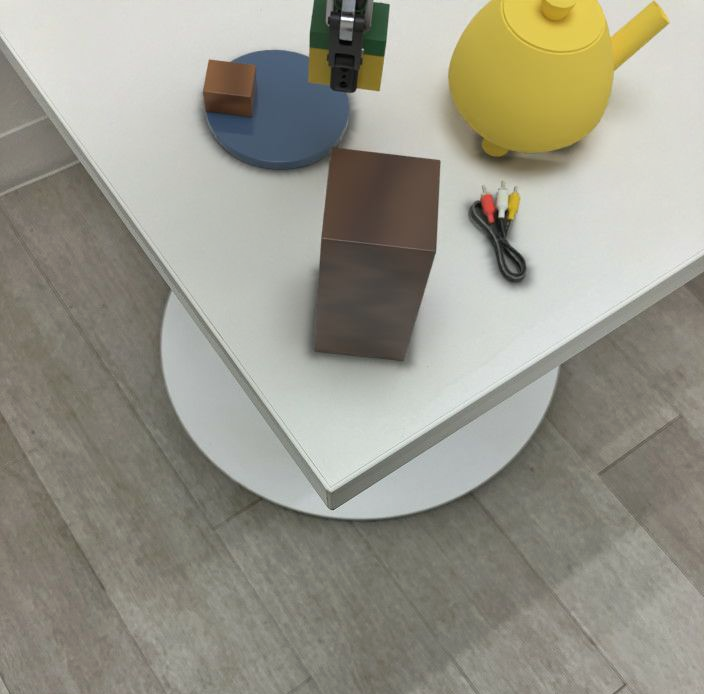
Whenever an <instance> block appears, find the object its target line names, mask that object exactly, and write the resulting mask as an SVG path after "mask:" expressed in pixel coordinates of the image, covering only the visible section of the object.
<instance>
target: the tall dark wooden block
mask: <svg viewBox="0 0 704 694" xmlns="http://www.w3.org/2000/svg"><path fill="white" fill-rule="evenodd" d="M329 155H330V156H329V163H328V170H327V171H328V172H327V180H326V191H325V199H324V210H323V217H322V226H321V236H320V248H319V265H318V266H319V267H318V282H317V295H316V311H315V327H314V339H313V340H314V341H313V342H314V343H313V351H314V352H319V353H329V354H337V355H338V354H339V355H347V356H355V357H357V356H358V357H366V358H374V359H375V358H376V359H385V360H395V361H406V356H407V353H408V349H409V346H410V343H411V339H412V335H413V333H414V332H413V331H414V329H415V326H416V322H417V319H418V316H419V312H420V308H421V305H422V301H423V298H424V294H425V291H426V288H427V285H428V282H429V278H430V275H431V271H432V267H433V264H434V261H435V257H436V254H437V247H438V245H437V244H438V224H439V223H438V222H439V205H440V203H439V202H440V186H441V185H440V184H441V164H442V163H441V162H442V161H441V159H435V158H428V157H427V158H426V157H419V156H411V155H404V154H403V155H402V154H393V153H387V152H386V153H384V152H377V151H368V150H359V149H351V148H343V147H336V148H335V147H332V148H331V152H330V153H329Z"/></svg>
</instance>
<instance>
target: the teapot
mask: <svg viewBox="0 0 704 694" xmlns="http://www.w3.org/2000/svg"><path fill="white" fill-rule="evenodd" d="M669 24H670V20H669V18H668V16H667V14H666V13H665V11H664V10H663V8H662V7H661V5H659V3H658V2H657V1H655V0H652V1H651V2H649V4H647V5H646V6H645V7H644V8H643V9H641V11H640V12H638V13H637V14H636V15H634V16H633V18H631V19H630V20H629V21H628V22H626V23H625V24H624V25H622V27H621V28H620V29H618V30H617V31H616V32H615V33H614V34H613V35H611V33H610V28H609V25H608V21H607V18H606V16H605V12H604V10H603V7H602V6H601V4H600V2H599V1H598V0H489V1H488V2H486V4H485V5H484V6H483V7H482V8H481V9H480V10H479V11H478V12H477V13H476V14H475V15H474V16H473V17H472V19H470V21H469V22H468V24H467V25H466V27H465V28H464V30H463V32H462V34H461V35H460V37H459V39H458V41H457V43H456V45H455V47H454V50H453V52H452V55H451V57H450V61H449V66H448V73H447V79H448V80H447V81H448V87H449V88H448V89H449V92H450V95H451V99H452V101H453V104H454V106H455V108H456V109H457V111H458V112H459V114H460V115H461V117H462V118H463V119H464V121H465V122H466V123H467V124H468V126H469V127H470V128H471V129H472V130H473V131H474V132H476V133H477V134H478V135H479V136H481V137H482V138H483V139H482V141H481V148H482V149H483V151H484V152H485V153H486V154H488V155H489V156H492V157H503V156H505V155H506V154H507V153H509V151H511V152H516V153H524V154H534V153H537V154H538V153H547V152H551V151H556V150H560V149H564V148H566V147H569V146H571V145H574V144H577V143H578V142H579V141H581V140H582V139H584V138H585V137H587V136H588V135H589V134H590V133H591V132H593V130H594V129H595V128H596V127H597V126H598V124H599V123H600V121H601V120H602V118H603V116H604V114H605V112H606V109H607V107H608V104H609V101H610V98H611V94H612V88H613V82H614V75H615V72H616V71H617V69H619V68H620V67H621V66H623V64H624V63H626V62H627V61H628V60H629V59H630V58H631V57H632V56H634V55H635V54H636V53H637V52H639V50H641V49H642V48H643V47H644V46H645V45H646V44H647V43H649V42H650V41H651V40H652V39H654V37H656V36H657V35H658V34H659V33H660V32H662V31H663V30H664V29H665V28H666V27H667V26H668V25H669Z"/></svg>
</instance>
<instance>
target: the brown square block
mask: <svg viewBox="0 0 704 694" xmlns="http://www.w3.org/2000/svg"><path fill="white" fill-rule="evenodd" d="M203 82H204V83H203V89H202V96H203V103H204V105H203V106H204V111H206V112H214V113H223V114H231V115H240V116H248V117H252V114H253V107H254V101H255V94H256V88H257V77H256V65H251V64H243V63H235V62H231V61H226V60H218V59H210V58H209V59H208V62H207V67H206V72H205V77H204V81H203ZM206 112H205V113H206Z"/></svg>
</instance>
